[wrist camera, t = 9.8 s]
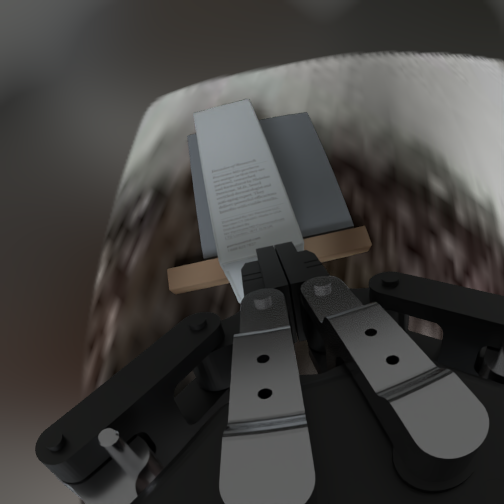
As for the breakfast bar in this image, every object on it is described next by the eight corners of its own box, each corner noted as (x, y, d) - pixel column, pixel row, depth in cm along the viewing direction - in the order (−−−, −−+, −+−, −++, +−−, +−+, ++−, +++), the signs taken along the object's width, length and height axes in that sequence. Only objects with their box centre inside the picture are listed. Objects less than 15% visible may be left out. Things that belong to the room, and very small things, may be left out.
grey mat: (306, 115, 28) (306, 112, 27) (352, 228, 23) (354, 225, 23) (188, 138, 28) (187, 135, 27) (204, 260, 23) (203, 258, 23)
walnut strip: (361, 232, 23) (365, 225, 22) (367, 251, 22) (371, 244, 21) (172, 274, 23) (167, 268, 22) (174, 294, 22) (169, 289, 21)
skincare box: (237, 306, 20) (210, 168, 26) (304, 289, 20) (260, 155, 26) (215, 264, 15) (191, 111, 20) (306, 241, 15) (251, 96, 20)
